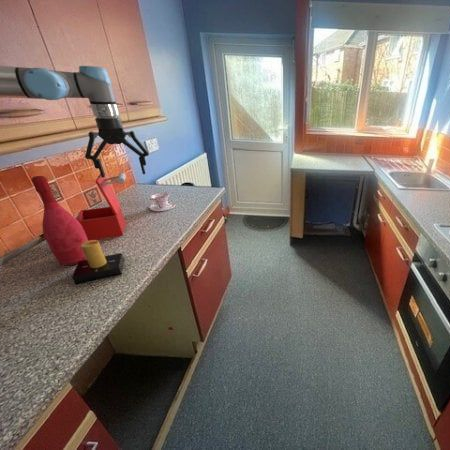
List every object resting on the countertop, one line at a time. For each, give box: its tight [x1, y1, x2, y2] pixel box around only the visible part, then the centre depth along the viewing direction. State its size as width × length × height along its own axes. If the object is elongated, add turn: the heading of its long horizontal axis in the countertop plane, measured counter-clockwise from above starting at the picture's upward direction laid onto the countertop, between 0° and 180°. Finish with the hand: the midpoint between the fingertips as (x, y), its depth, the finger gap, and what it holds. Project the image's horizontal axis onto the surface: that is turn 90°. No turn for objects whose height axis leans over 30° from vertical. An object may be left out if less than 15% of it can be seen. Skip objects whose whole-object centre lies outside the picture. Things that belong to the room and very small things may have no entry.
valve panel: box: [71, 252, 125, 286], centre depth 82 cm, size 12×9×3 cm
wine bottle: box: [31, 175, 88, 266], centre depth 81 cm, size 10×10×30 cm
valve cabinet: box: [75, 206, 127, 241], centre depth 103 cm, size 14×12×9 cm
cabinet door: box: [94, 172, 127, 215], centre depth 101 cm, size 15×12×8 cm
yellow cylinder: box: [81, 239, 107, 268], centre depth 79 cm, size 4×4×8 cm
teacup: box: [149, 192, 176, 212], centre depth 127 cm, size 12×12×6 cm
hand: (124, 175), depth 99 cm, fingers open, 13 cm apart
